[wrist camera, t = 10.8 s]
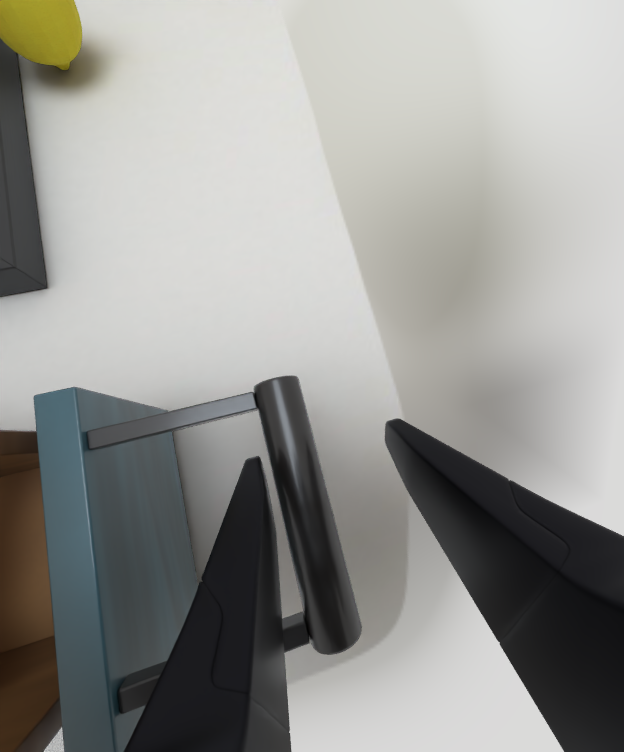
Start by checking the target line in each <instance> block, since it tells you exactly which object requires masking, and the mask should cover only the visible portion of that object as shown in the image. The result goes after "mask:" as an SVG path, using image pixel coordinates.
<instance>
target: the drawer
mask: <svg viewBox="0 0 624 752" xmlns="http://www.w3.org/2000/svg"><path fill="white" fill-rule="evenodd" d="M34 408H35V419H36V431H14V430H0V752H43V751H44V750H45V748H46V747H47V746H48V744H49V743H50V742H51V740H52V739H53V738H54V737H55V735H56V734H57V733H58V731H59V730H60V729H61V727H62V729H63V741H64V752H124V750H125V748H126V746H127V744H128V742H129V740H130V738H131V735H132V733H133V731H134V729H135V727H136V725H137V723H138V721H139V719H140V717H141V714H142V712H143V710H144V708H145V706H146V704H147V702H148V700H149V698H150V696H151V693H152V691H153V689H154V687H155V685H156V683H157V681H158V679H159V677H160V674H161V672H162V670H163V668H164V666H165V664H166V662H167V660H168V658H169V655H170V653H171V651H172V649H173V647H174V644H175V642H176V640H177V638H178V636H179V633H180V631H181V629H182V627H183V624H184V622H185V619H186V617H187V614H188V612H189V609H190V607H191V604H192V602H193V599H194V597H195V594H196V591H197V589H198V583H197V577H196V571H195V565H194V559H193V553H192V547H191V542H190V536H189V530H188V524H187V518H186V512H185V506H184V500H183V494H182V489H181V483H180V477H179V471H178V465H177V459H176V453H175V447H174V442H173V436H172V431H176V430H181V429H185V428H189V427H193V426H197V425H201V424H205V423H209V422H213V421H217V420H221V419H225V418H229V417H233V416H237V415H241V414H245V413H249V412H253V411H257V410H258V411H259V416H260V420H261V425H262V429H263V434H264V438H265V442H266V447H267V451H268V456H269V460H270V465H271V469H272V473H273V478H274V482H275V487H276V491H277V496H278V500H279V504H280V509H281V513H282V518H283V522H284V527H285V531H286V535H287V540H288V544H289V549H290V553H291V557H292V562H293V566H294V571H295V575H296V580H297V584H298V588H299V593H300V597H301V602H302V606H303V611H304V612H300V613H297V614H294V615H291V616H289V617H286V618H283V619H282V626H283V640H284V653H285V652H288V651H290V650H293V649H295V648H298V647H301V646H303V645H306V644H308V643H309V641H310V642H311V645H312V646H313V648H314V649H315V650H316V651H317V652H319V653H321V654H327V655H331V654H337V653H340V652H343V651H345V650H347V649H349V648H350V647H352V646H353V645H354V644H355V643H356V642H357V640H358V639H359V637H360V635H361V630H362V625H361V621H360V617H359V613H358V609H357V605H356V601H355V597H354V593H353V589H352V586H351V582H350V578H349V574H348V570H347V566H346V562H345V558H344V554H343V550H342V546H341V543H340V539H339V535H338V531H337V527H336V523H335V519H334V515H333V511H332V507H331V504H330V500H329V496H328V492H327V488H326V484H325V480H324V476H323V472H322V468H321V464H320V461H319V457H318V453H317V449H316V445H315V441H314V437H313V433H312V429H311V425H310V422H309V418H308V414H307V410H306V406H305V402H304V398H303V394H302V390H301V386H300V382H299V379H298V377H297V376H281V377H276V378H272V379H269V380H266V381H263V382H260V383H259V384H257V385H255V386H254V392H249V393H245V394H241V395H237V396H233V397H228V398H224V399H220V400H216V401H211V402H207V403H203V404H199V405H194V406H190V407H186V408H182V409H177V410H173V411H169V412H168V410H164V409H160V408H156V407H152V406H148V405H144V404H140V403H136V402H132V401H128V400H124V399H121V398H117V397H113V396H109V395H105V394H101V393H97V392H93V391H89V390H85V389H81V388H78V387H71V388H67V389H62V390H57V391H53V392H48V393H43V394H39V395H35V396H34ZM309 637H310V638H309Z"/></svg>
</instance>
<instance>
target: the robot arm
mask: <svg viewBox="0 0 624 752" xmlns="http://www.w3.org/2000/svg"><path fill="white" fill-rule="evenodd" d="M385 443H386V446H387V448H388V450H389V453H390V455H391V457H392V459H393V461H394V463H395V466H396V468H397V470H398V472H399V474H400V476H401V478H402V481H403V483H404V485H405V487H406V489H407V490H408V492H409V494H410V496H411V497H412V499H413V501H414V502H415V504H416V505H417V507H418V509H419V511H420V512H421V514H422V516H423V517H424V519H425V521H426V522H427V524H428V526H429V527H430V529H431V531H432V532H433V534H434V536H435V537H436V539H437V540H438V542H439V544H440V545H441V547H442V549H443V550H444V552H445V554H446V555H447V557H448V559H449V561H450V562H451V564H452V565H453V567H454V569H455V570H456V572H457V574H458V575H459V577H460V579H461V580H462V582H463V584H464V585H465V587H466V589H467V590H468V592H469V594H470V595H471V597H472V598H473V600H474V602H475V604H476V605H477V607H478V609H479V610H480V612H481V614H482V615H483V617H484V618H485V620H486V622H487V624H488V625H489V627H490V629H491V630H492V632H493V634H494V635H495V637H496V639H497V640H498V641H499V642H500V645H501V647H502V649H503V651H504V652H505V654H506V656H507V657H508V659H509V661H510V662H511V664H512V665H513V667H514V669H515V670H516V672H517V674H518V675H519V677H520V679H521V681H522V682H523V684H524V685H525V687H526V689H527V691H528V692H529V694H530V695H531V697H532V699H533V700H534V702H535V704H536V705H537V707H538V709H539V710H540V712H541V714H542V715H543V717H544V719H545V720H546V722H547V724H548V725H549V727H550V729H551V730H552V732H553V734H554V735H555V737H556V739H557V740H558V742H559V744H560V745H561V747H562V749H563V750H564V752H624V536H622V535H620V534H618V533H616V532H614V531H611V530H609V529H607V528H605V527H603V526H601V525H599V524H596V523H594V522H592V521H590V520H588V519H585V518H584V517H581V516H579V515H577V514H575V513H573V512H571V511H569V510H567V509H565V508H563V507H561V506H559V505H557V504H555V503H553V502H551V501H549V500H546V499H545V498H543V497H541V496H539V495H537V494H535V493H533V492H531V491H530V490H528V489H526V488H524V487H522V486H520V485H518V484H517V483H515V482H513V481H511V480H510V481H509V480H508V479H507V478H506V477H504V476H502V475H500V474H498V473H497V472H495V471H493V470H491V469H489V468H488V467H486V466H484V465H482V464H480V463H479V462H477V461H475V460H473V459H471V458H470V457H468V456H466V455H464V454H462V453H461V452H459V451H457V450H455V449H453V448H452V447H450V446H448V445H446V444H444V443H442V442H441V441H439V440H437V439H435V438H434V437H432V436H430V435H428V434H426V433H424V432H422V431H421V430H419V429H417V428H415V427H414V426H412V425H410V424H408V423H406V422H405V421H403V420H401V419H393V420H389V421H387V422H386V427H385ZM201 579H202V581H203V582H202V581H201V582H200V583H199V586H198V589H197V591H196V594H195V597H194V599H193V602H192V604H191V607H190V609H189V612H188V614H187V617H186V619H185V622H184V624H183V627H182V629H181V631H180V633H179V636H178V638H177V640H176V642H175V644H174V647H173V649H172V651H171V653H170V655H169V658H168V660H167V662H166V664H165V666H164V668H163V670H162V672H161V674H160V677H159V679H158V681H157V683H156V685H155V687H154V689H153V691H152V693H151V696H150V698H149V700H148V702H147V704H146V706H145V708H144V710H143V712H142V714H141V717H140V719H139V721H138V723H137V725H136V727H135V729H134V731H133V733H132V735H131V738H130V740H129V742H128V744H127V746H126V748H125V750H124V752H291V741H290V733H289V730H290V727H289V713H288V699H287V684H286V669H285V655H284V640H283V626H282V611H281V597H280V583H279V568H278V554H277V539H276V528H275V522H274V516H273V511H272V506H271V501H270V495H269V490H268V485H267V480H266V475H265V472H264V468H263V465H262V462H261V459H260V457H259V456H256V457H253V458H249V459H247V460H246V461H245V463H244V466H243V469H242V471H241V474H240V477H239V479H238V482H237V485H236V487H235V490H234V493H233V495H232V498H231V501H230V503H229V506H228V509H227V511H226V514H225V517H224V519H223V522H222V525H221V527H220V530H219V533H218V535H217V538H216V541H215V543H214V546H213V549H212V551H211V554H210V557H209V559H208V562H207V565H206V568H205V570H204V573H203V576H202V578H201Z"/></svg>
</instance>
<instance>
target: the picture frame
mask: <svg viewBox="0 0 624 752" xmlns="http://www.w3.org/2000/svg"><path fill="white" fill-rule="evenodd" d="M46 287H47V284H46V277H45V269H44V261H43V254H42V246H41V238H40V231H39V223H38V215H37V208H36V200H35V192H34V185H33V177H32V169H31V162H30V154H29V146H28V139H27V131H26V123H25V116H24V108H23V100H22V93H21V85H20V77H19V70H18V62H17V54H16V52H15V51H14V50H12V49H11V48H10V47H9V46H8V45H7V44H5V43H4V41H3V40H2V39H1V38H0V296H4V295H10V294H15V293H21V292H26V291H32V290H37V289H43V288H46Z"/></svg>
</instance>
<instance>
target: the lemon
mask: <svg viewBox="0 0 624 752" xmlns="http://www.w3.org/2000/svg"><path fill="white" fill-rule="evenodd" d="M0 38H1V39H2V40H3V41H4V43H5V44H7V45H8V46H9V47H10V48H11V49H12V50H14V51H15V52H16V53H18V54H19V55H21V56H23V57H24V58H26V59H28V60H30V61H32V62H36V63H40V64H45V65H55V66H57V67H58V68H60V69H61V70H68V69H69V67H70V62H71V61H72V60H73V59H74V58H75V57H76V56H77V54H78V53H79V51H80V49H81V43H82V27H81V21H80V17H79V14H78V11H77V8H76V5H75V2H74V0H0Z"/></svg>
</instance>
